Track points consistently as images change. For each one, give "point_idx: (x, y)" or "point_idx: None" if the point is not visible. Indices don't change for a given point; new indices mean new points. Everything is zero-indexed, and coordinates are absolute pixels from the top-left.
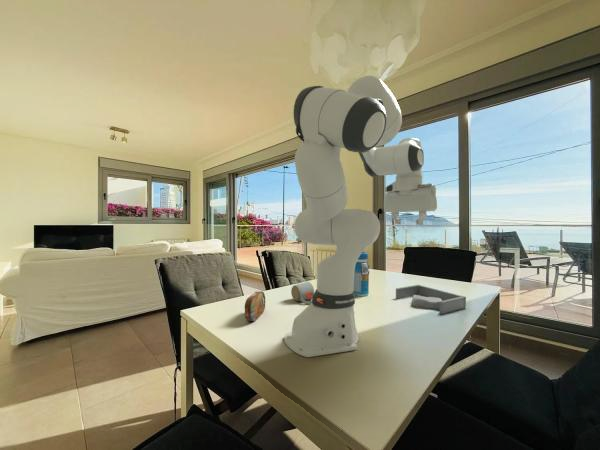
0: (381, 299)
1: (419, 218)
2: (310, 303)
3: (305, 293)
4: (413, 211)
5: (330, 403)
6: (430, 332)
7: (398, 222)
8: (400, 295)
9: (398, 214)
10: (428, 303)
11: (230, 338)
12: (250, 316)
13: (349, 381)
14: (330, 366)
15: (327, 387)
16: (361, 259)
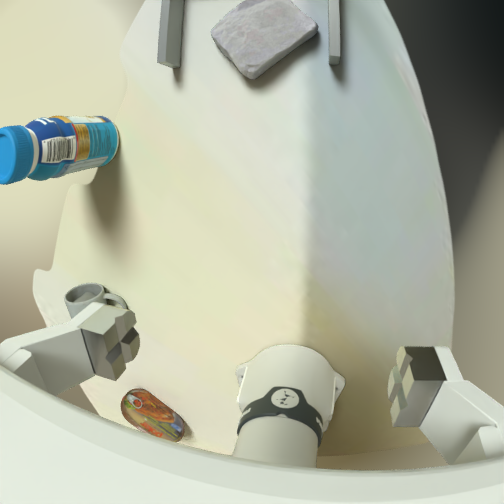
0: (160, 116)
1: (438, 439)
2: (126, 307)
3: None
4: (283, 476)
5: (390, 442)
6: (393, 213)
7: (129, 348)
8: (176, 54)
9: (32, 363)
10: (284, 51)
11: (220, 449)
12: (183, 431)
13: (384, 419)
14: (350, 419)
15: (374, 436)
16: (31, 166)
